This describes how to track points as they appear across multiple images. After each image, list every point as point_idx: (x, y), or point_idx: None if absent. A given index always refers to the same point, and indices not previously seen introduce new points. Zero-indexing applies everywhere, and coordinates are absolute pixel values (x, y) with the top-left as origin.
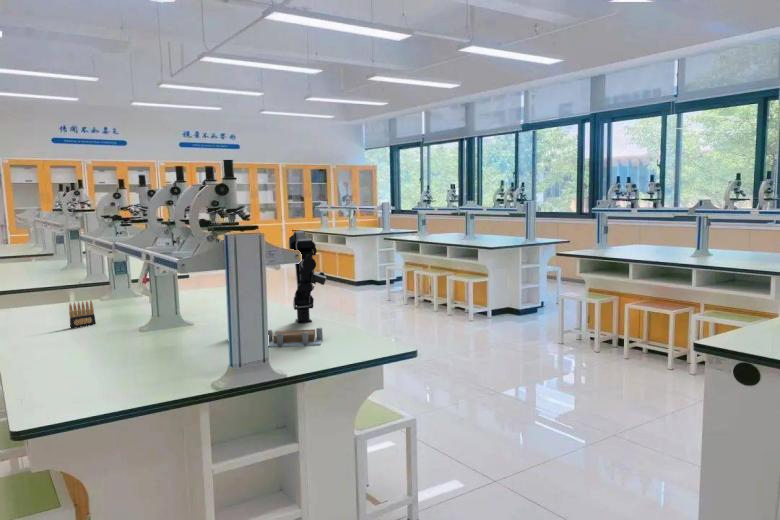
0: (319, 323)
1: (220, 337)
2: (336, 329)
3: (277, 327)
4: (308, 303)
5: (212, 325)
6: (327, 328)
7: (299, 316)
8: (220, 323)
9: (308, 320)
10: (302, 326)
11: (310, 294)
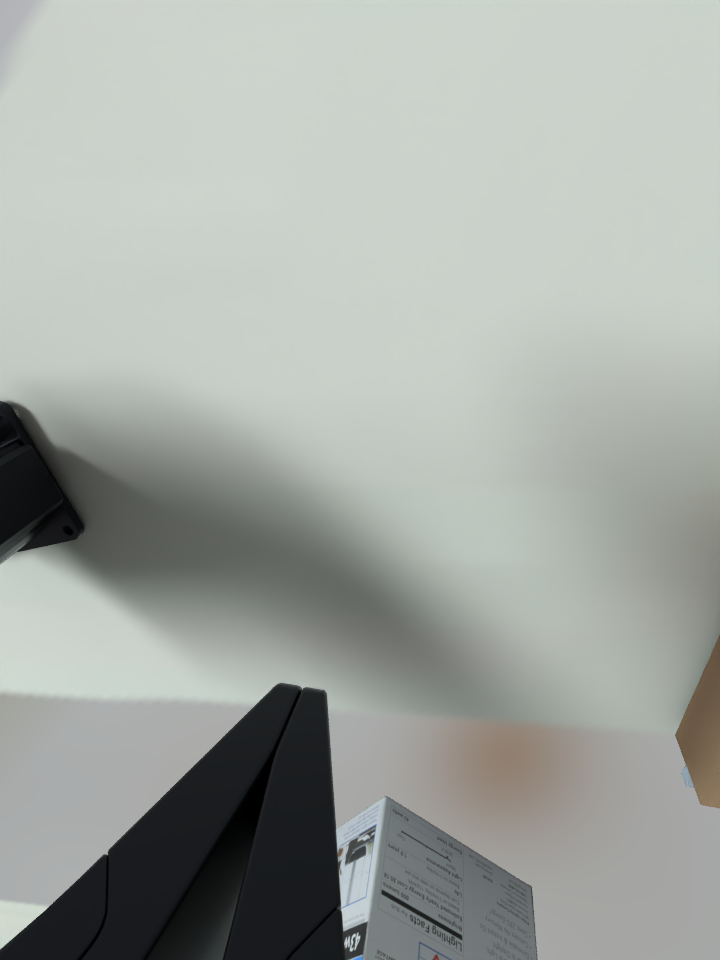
0: (68, 309)
1: None
2: (424, 3)
3: (228, 688)
4: (324, 700)
5: None
6: (332, 182)
7: (4, 555)
8: None
9: (15, 443)
10: (204, 497)
11: (142, 929)
